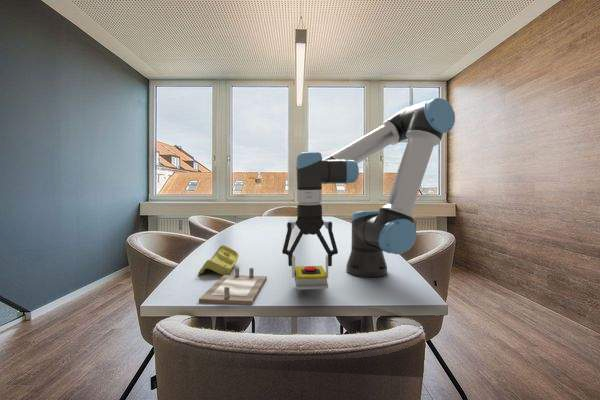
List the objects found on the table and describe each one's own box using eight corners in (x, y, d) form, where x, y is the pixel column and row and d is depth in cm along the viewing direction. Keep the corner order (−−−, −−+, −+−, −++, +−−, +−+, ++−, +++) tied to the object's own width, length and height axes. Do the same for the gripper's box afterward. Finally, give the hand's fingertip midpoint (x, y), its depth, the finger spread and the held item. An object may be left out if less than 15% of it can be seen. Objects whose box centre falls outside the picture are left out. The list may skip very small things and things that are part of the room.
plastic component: (230, 270, 113) (204, 257, 112) (221, 287, 114) (196, 275, 113) (241, 253, 132) (219, 242, 132) (233, 268, 133) (212, 258, 133)
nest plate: (224, 277, 111) (224, 266, 111) (266, 278, 110) (266, 267, 110) (198, 302, 88) (198, 288, 88) (252, 304, 87) (252, 290, 87)
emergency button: (296, 274, 90) (293, 261, 105) (296, 289, 90) (294, 274, 105) (328, 273, 90) (321, 260, 105) (328, 288, 91) (321, 273, 106)
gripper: (271, 205, 93) (272, 279, 94) (347, 204, 91) (347, 280, 93) (275, 203, 100) (276, 272, 102) (345, 202, 99) (345, 273, 100)
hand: (310, 276), depth 97 cm, fingers closed on emergency button, 9 cm apart
